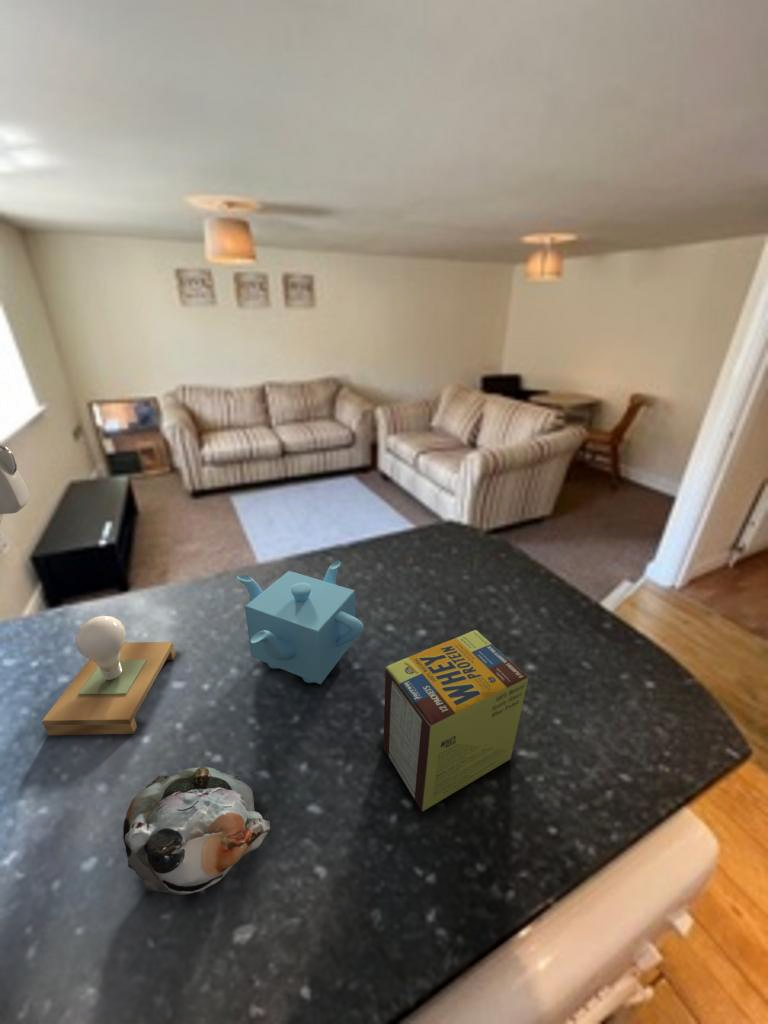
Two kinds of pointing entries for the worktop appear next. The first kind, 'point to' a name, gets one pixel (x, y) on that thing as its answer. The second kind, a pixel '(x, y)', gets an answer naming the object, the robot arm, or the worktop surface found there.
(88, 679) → the shelf
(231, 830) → the lucky cat figurine
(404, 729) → the protein box
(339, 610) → the teakettle
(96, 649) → the lightbulb
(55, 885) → the worktop surface
